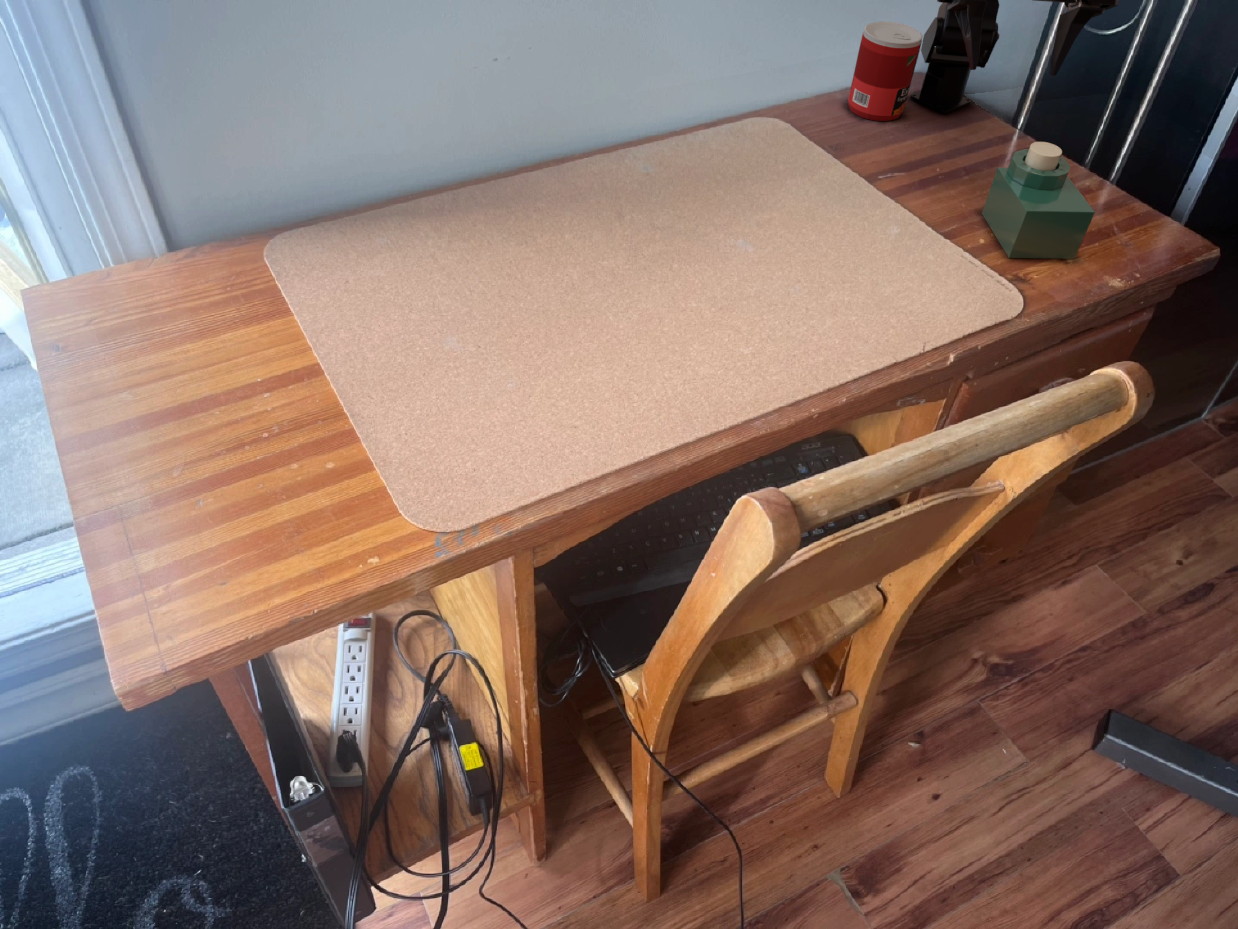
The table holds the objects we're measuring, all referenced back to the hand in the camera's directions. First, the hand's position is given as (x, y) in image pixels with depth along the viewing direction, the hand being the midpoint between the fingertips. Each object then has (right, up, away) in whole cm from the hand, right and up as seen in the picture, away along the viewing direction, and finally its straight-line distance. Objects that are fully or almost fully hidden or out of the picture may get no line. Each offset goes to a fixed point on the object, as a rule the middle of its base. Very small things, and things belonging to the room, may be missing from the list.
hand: (1013, 72), depth 114 cm
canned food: (-9, +5, +27) cm, 29 cm away
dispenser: (+3, -18, +5) cm, 19 cm away
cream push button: (+4, -10, +1) cm, 11 cm away
